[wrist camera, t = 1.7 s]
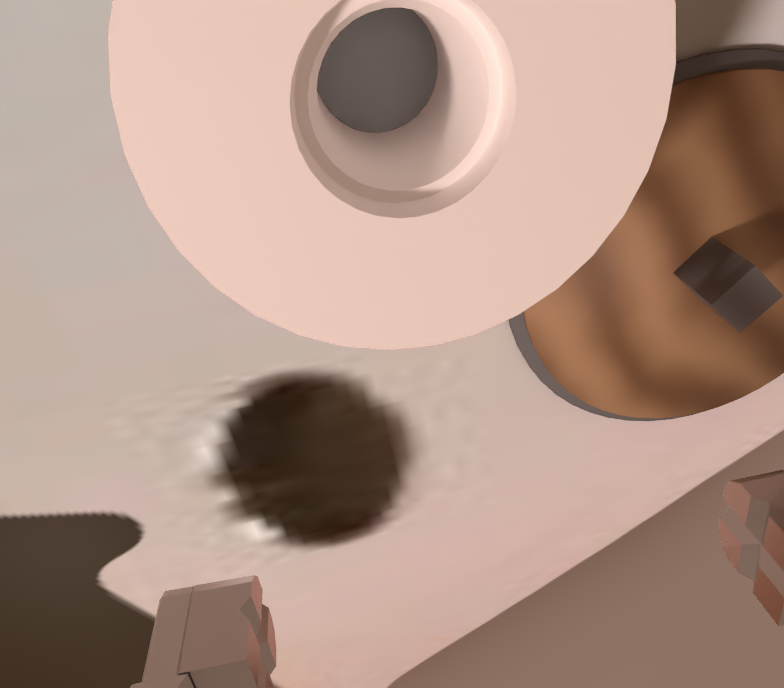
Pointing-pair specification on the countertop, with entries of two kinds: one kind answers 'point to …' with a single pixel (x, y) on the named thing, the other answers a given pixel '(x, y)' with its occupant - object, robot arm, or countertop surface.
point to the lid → (684, 264)
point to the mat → (682, 72)
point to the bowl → (390, 156)
